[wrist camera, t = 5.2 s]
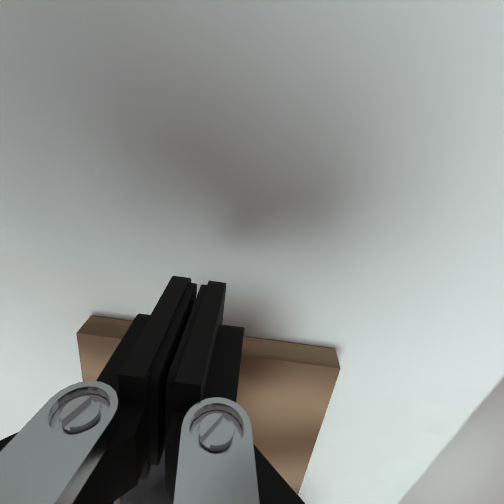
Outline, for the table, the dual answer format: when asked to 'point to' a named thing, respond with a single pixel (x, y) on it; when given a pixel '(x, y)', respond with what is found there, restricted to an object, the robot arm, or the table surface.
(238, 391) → the block
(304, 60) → the table surface
